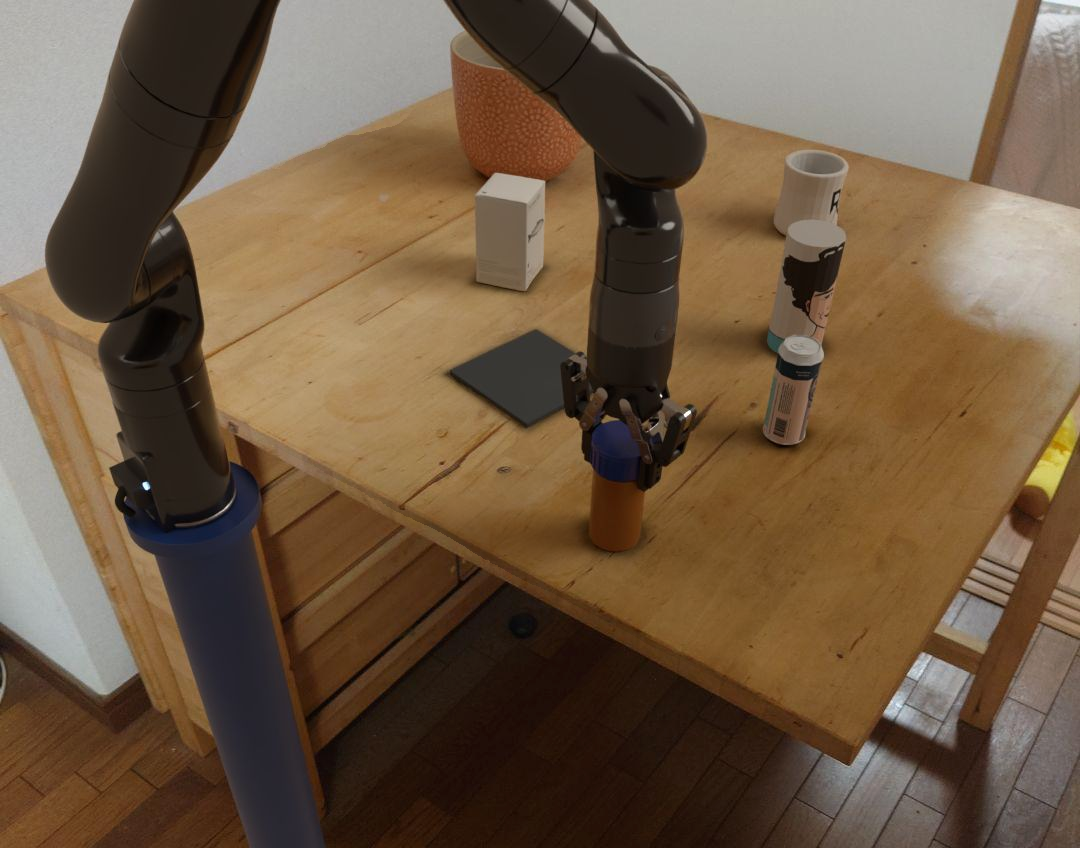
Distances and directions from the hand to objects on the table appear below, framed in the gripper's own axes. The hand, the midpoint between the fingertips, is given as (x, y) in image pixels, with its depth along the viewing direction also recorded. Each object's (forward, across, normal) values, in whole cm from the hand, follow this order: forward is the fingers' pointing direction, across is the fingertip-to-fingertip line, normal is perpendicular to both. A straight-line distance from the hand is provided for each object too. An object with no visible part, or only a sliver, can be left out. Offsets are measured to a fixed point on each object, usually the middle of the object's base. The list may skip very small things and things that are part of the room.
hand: (619, 471), depth 102 cm
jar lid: (-4, 0, 0) cm, 4 cm away
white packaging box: (+8, +42, -32) cm, 54 cm away
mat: (+8, +24, -15) cm, 30 cm away
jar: (+8, 0, 0) cm, 8 cm away
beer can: (+8, -4, -26) cm, 27 cm away
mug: (+8, +20, -72) cm, 75 cm away
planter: (+8, +63, -57) cm, 86 cm away
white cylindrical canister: (+8, +5, -43) cm, 44 cm away
